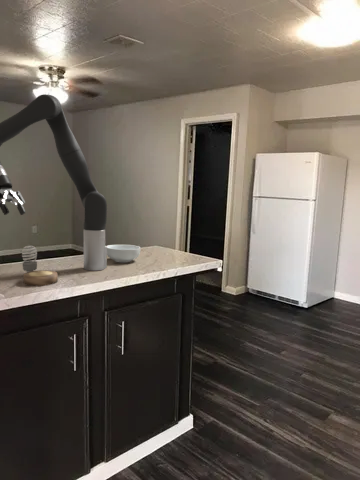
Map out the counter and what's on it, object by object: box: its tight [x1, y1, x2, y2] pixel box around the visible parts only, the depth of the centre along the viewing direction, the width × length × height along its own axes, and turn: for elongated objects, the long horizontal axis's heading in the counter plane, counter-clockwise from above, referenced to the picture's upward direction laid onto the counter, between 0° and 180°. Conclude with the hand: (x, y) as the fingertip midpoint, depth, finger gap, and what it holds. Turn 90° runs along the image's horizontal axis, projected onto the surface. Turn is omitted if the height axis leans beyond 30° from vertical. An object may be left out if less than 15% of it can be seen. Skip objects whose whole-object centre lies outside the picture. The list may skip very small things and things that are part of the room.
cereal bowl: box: [105, 244, 141, 263], centre depth 190 cm, size 17×17×7 cm
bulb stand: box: [22, 269, 58, 287], centre depth 147 cm, size 12×12×3 cm
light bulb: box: [21, 245, 38, 273], centre depth 155 cm, size 6×6×12 cm
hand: (15, 213), depth 155 cm, fingers open, 8 cm apart
